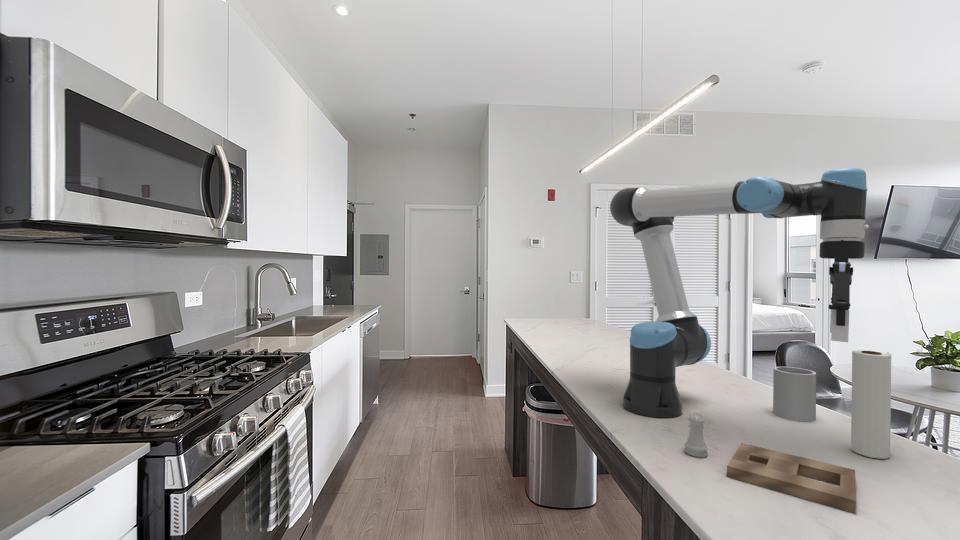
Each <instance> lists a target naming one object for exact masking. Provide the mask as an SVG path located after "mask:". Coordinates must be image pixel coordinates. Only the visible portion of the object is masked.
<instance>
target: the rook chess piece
mask: <svg viewBox="0 0 960 540" xmlns="http://www.w3.org/2000/svg"><path fill="white" fill-rule="evenodd" d="M687 420H688V421H689V423H690V424H689V425H688V426H689V427H688V428H689V434H688V435H689V436H688V437H687V440H686V442H685V443H684V447H685V448H684V451H685V453H686V454H687V455H689V456H691V457H695V458H698V459H699V458H700V459H701V458H706V457H707V456H708V455H709V452H708V450H709V448H708V446H707V445H706V442H705V440H704V439H705V438H704V430H705V428H704V424H705V423H706V420H705V418H704V415H703V414H700V413H697V415H696V413H694V412H693V413H690V414H689V417H688V418H687Z"/></svg>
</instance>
